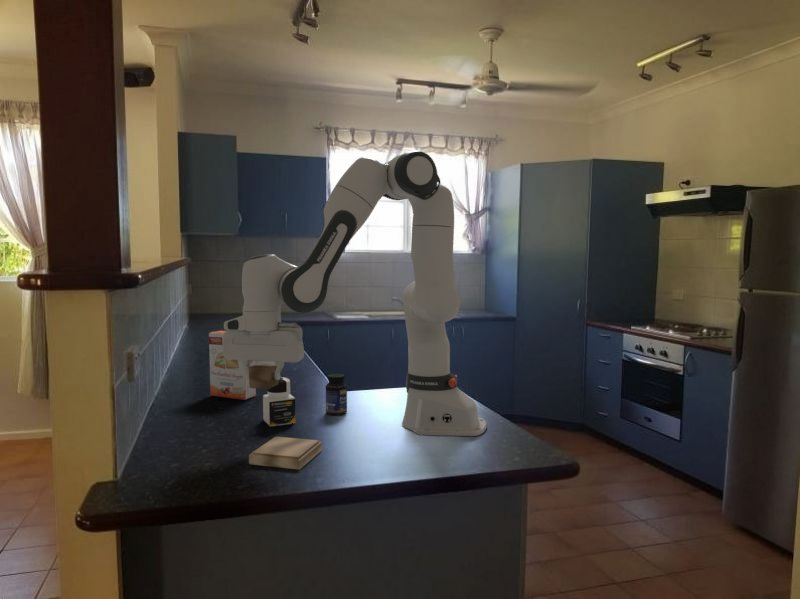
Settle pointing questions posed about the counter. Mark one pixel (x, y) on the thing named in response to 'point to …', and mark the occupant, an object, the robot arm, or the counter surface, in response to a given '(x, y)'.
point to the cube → (262, 376)
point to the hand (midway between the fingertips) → (263, 378)
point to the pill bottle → (336, 395)
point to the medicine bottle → (279, 404)
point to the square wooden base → (286, 452)
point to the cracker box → (227, 372)
